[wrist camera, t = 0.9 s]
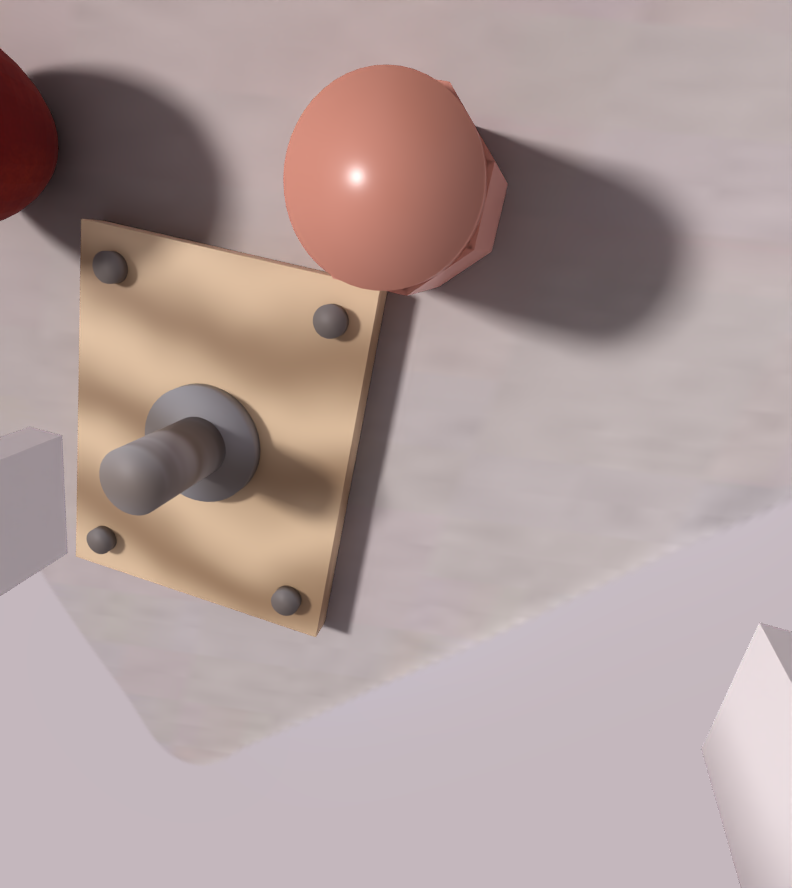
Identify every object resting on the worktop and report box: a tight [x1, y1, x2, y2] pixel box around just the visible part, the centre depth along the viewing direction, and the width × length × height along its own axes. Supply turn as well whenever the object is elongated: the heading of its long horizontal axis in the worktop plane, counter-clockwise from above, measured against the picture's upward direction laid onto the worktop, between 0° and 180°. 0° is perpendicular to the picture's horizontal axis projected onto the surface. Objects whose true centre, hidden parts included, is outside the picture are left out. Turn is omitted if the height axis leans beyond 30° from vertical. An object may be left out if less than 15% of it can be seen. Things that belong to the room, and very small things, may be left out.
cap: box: [283, 65, 508, 296], centre depth 24 cm, size 7×7×8 cm
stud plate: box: [76, 219, 387, 637], centre depth 30 cm, size 20×16×8 cm
